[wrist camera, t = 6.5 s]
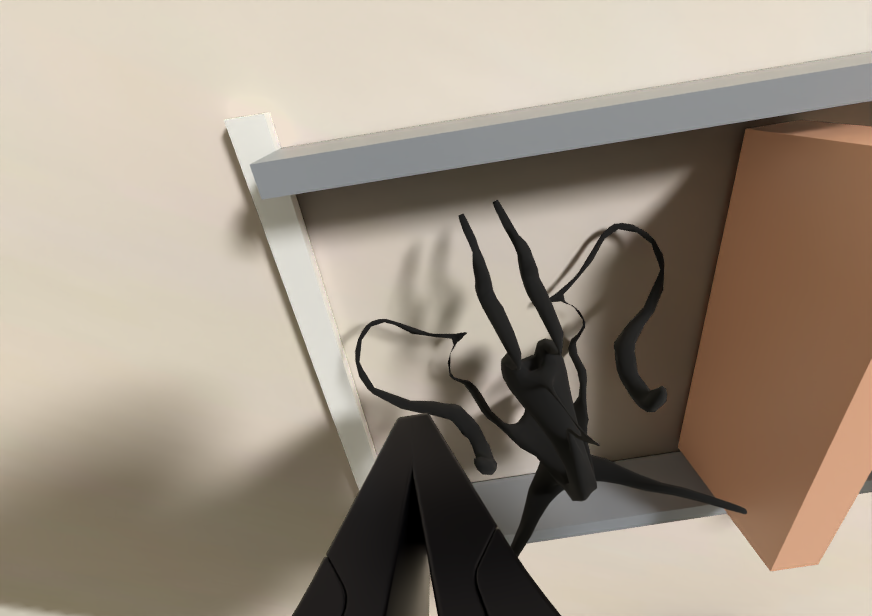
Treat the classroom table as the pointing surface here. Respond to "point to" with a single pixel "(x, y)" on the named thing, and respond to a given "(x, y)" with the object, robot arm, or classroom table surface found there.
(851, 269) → the tall tan plank
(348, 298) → the classroom table surface
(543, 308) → the creature
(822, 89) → the frame
